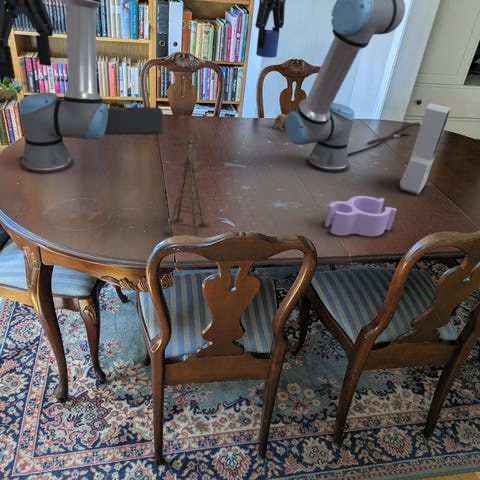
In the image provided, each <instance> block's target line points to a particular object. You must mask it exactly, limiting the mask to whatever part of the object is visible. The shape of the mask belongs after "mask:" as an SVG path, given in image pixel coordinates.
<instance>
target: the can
mask: <svg viewBox="0 0 480 480" xmlns="http://www.w3.org/2000/svg"><path fill="white" fill-rule="evenodd" d="M265 30H266V38H265V47H264V49H262V48H258V47H257V46H258V40H257V41H256V42H257V43H256V51H255V52H256V53H255V54H256V56H258V57H262V58H268V59H269V58H271V59H272V58H273V59H274V58H277V56H278V49H279V48H278V47H279V39H280V31H279V32H278V31H274V30H272V29H266V28H265ZM258 34H259V31H258V33H257V35H258Z"/></svg>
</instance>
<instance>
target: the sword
mask: <svg viewBox="0 0 480 480" xmlns="http://www.w3.org/2000/svg"><path fill="white" fill-rule="evenodd" d="M401 134H402V133H399V132H398V133H396V134H395V135H393V136H391V137H389V136H390V135H389V136H383V137H379V138H376V139H372V140H370V141H368V143H367V144H368V145H372V144H373V143H378V142H381V141H383V140H385V139H386V138H388V137H389V139H393V138H400V137H402V136H406V135H409V134H404V135H401Z"/></svg>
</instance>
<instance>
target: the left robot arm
mask: <svg viewBox="0 0 480 480" xmlns="http://www.w3.org/2000/svg"><path fill="white" fill-rule="evenodd" d="M60 1H61V2H62V4H63V5H64V6H65V21H66V22H65V26H66V48H67V49H66V50H67V52H66V53H67V77H68V78H67V79H68V89H67V91H66V93H64V94H63V100H62V99H59V96H58V94H56V93H54V92H39V93H33V94H30V95H26V96H24V97H22V98H21V99H20V101H19V103H18V104H19V116H20V120H21V126H22V132H23V136H24V148H23V153H22V156H19V159H20V160H21V161H22V166H23V168H24V169H25V170H27V171H29V172H33V173H39V174H46V173H56V172H61V171H63V170H66V169H67V168H69V167H70V166H71V163H72V156H71V154H70V153H69V151H68V150H67V149H68V148H67V147H66V145H65V143H64V140H63V138H66V139H67V138H68V139H80V140H81V139H83V140H86V141H88V140H100V139H102V138H103V137H104V135H105V133H106V131H105V130H106V126H107V121H108V108H109V107H108V105H107V104H106V103H104V102H103V97H102V96H101V95H100V93H99V91H98V69H97V68H98V67H97V66H98V65H97V64H98V63H97V62H98V61H97V59H98V58H97V9H98V8H99V7H100V6H101V4H102V1H101V0H60ZM23 14H24V15H25V17H26V18H27V20H28V21H29V22H30V24H31V25H32V27H33V29H34V30H35V32H36V33H37V35H35V39H36V41H35V42H36V49H37V54H38V63H39V65H40V66H46V67H51V66H52V58H51V49H50V48H51V45H50V39H49V37H53V35H54V31H55V28H54V25H53V23H52V20H51V18H50V15H49V12H48V10H47V8H46V6H45V3H44V1H43V0H0V72H1V77H2V78H7V79H12V80H14V79H16V74H15V68H14V67H15V66H14V61H13V56H12V50H11V49H12V48H11V46H10V45H8V43H9V40H10V36H11V32H12V30H13V26H14V23H15V20H16V19H17V18H18V17H19V16H21V15H23Z"/></svg>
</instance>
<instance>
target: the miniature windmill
mask: <svg viewBox="0 0 480 480" xmlns="http://www.w3.org/2000/svg"><path fill="white" fill-rule="evenodd" d="M194 131H195V132H198V129H197V128H194ZM190 137H191V138H190V139H189V141H188V142H185V141H184V140H183V139H180V138H177V137H172V147H185V146H187V148H188V150H187V155H186V158H184V159H183V160H182V162H181V163H179V164H178V166H179V167H183V170H182V172H181V179H180V180H179V182H180V183H179V187H178V188H177V195H176V197H175V203H174V205H173V210H172V212H171V219H170V220H169V227H168V231H167V234H168V235H170V234H171V231H172V227H173V225H180V226H184V227H191V228H193V237H194V236H196V237H197V238H198V236H197V227H198V225H199V224H200V222H201V226H205V221H204V215H205V213H203V210H202V205H201V197H200V193H199V185H198V183H197V175H196V173H197V172H196V170H195V169H197V168H198V167H199V166H200V165H201V163H202V162H200V161H199V160H195V159H196V156H197V151H198V146H199V143H197V142H199V133H194V136H193V134H190ZM188 172H189V174H187V173H188ZM186 178H189V180H190V182H186ZM193 181H194V182H193ZM185 185H189V186H190V190H189V189H188V190H187V189H185ZM184 192H185V193H190V194H191V196H190V195H189V196H188V195H184ZM194 193H195V194H196V196H195V197H194ZM183 198H188V199H191V206H189V205H188V206H187V205H183V204H182V203H183V202H182V201H183ZM195 200H197V202H196V203H195ZM197 206H198V211H199V212H196V211H195V210H196V208H197ZM177 208H178V209H177ZM181 208H186V209H190V210H192V211H190V210H185V209H181ZM181 212H184V213H189V214H192V224H187V223H181V222H179V221H180V214H181ZM196 215H199V218H198V221H197V222H196ZM175 216H176V221H177V222H176V221H174V220H175Z"/></svg>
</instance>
